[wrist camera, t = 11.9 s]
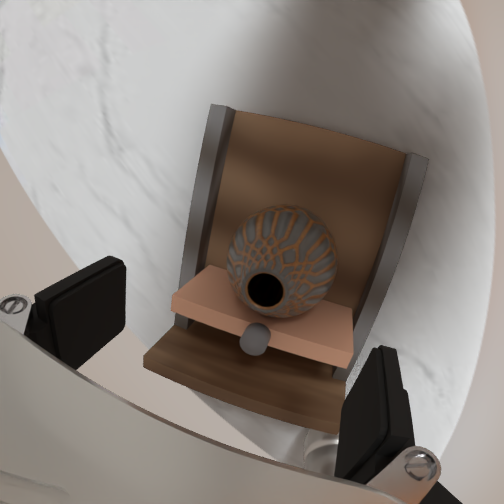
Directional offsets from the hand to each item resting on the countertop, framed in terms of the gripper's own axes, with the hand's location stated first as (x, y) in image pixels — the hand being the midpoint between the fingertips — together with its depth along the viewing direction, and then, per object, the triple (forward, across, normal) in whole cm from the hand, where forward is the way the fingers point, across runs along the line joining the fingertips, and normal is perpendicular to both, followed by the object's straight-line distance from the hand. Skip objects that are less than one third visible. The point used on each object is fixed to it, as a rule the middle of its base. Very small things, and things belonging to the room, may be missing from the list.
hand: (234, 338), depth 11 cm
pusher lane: (+14, 0, +1) cm, 14 cm away
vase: (+14, 0, +1) cm, 14 cm away
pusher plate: (+14, 0, +4) cm, 15 cm away
